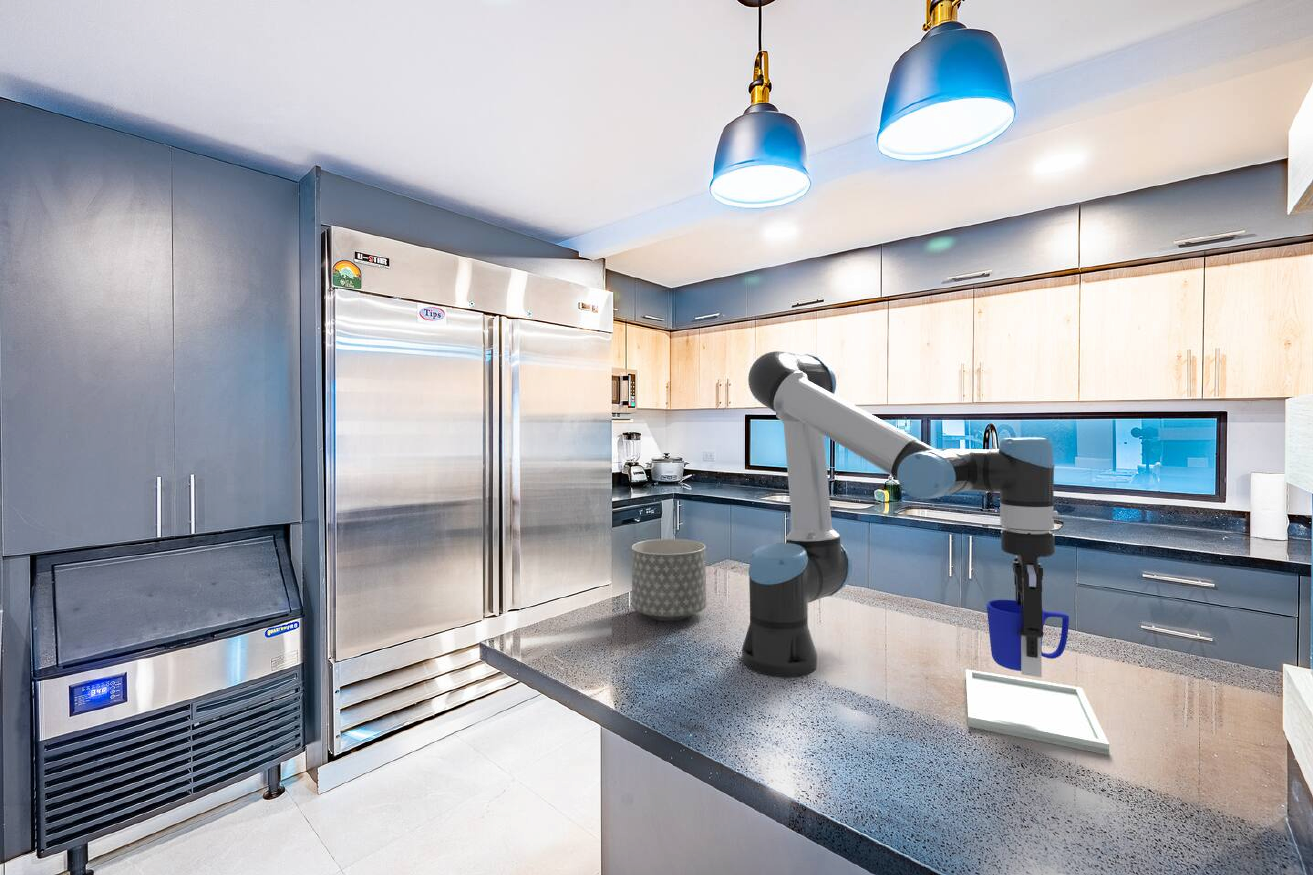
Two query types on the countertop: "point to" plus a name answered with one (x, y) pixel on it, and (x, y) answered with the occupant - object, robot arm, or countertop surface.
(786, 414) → the robot arm
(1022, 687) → the tray
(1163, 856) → the countertop surface
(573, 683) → the countertop surface
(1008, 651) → the mug
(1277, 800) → the countertop surface
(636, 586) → the planter
